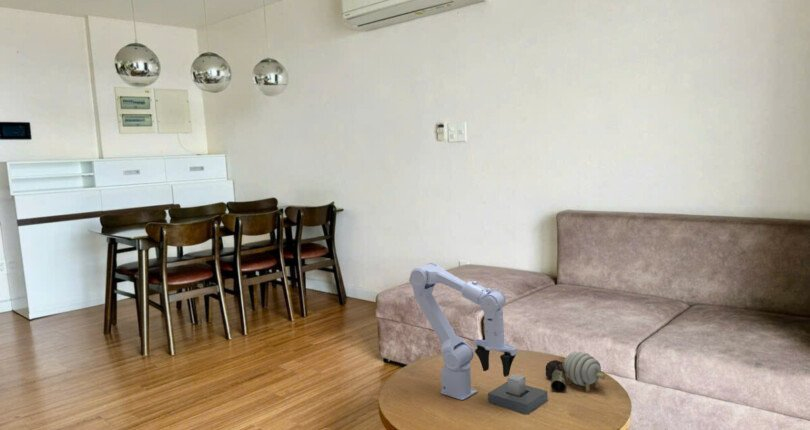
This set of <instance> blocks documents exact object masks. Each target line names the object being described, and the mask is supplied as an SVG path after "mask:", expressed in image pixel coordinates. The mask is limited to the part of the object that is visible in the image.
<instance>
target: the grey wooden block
mask: <svg viewBox="0 0 810 430" xmlns="http://www.w3.org/2000/svg"><path fill="white" fill-rule="evenodd" d="M506 379H507V381H506V382H508V394H510V395H514V396H517V397H522V396H523V395H525V394H526V385H527V381H526V376H525V375H521V374H517V373H513V374H511V375H509V376H507V377H506Z"/></svg>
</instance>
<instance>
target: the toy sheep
mask: <svg viewBox="0 0 810 430" xmlns="http://www.w3.org/2000/svg"><path fill="white" fill-rule="evenodd" d="M562 361H563V362H562V367H563V369H564V371H565V375H567V384H569V385H572V383H573V384H575V385H576V386H582V387H585V392H590V389H591V387H590V385H592V384H593V387H594V388H595V389H598V388H599V379H602V380H604V379H605V378H606V375H605V374H603V373H602V366H601V363H600V361H599V360H598V359H596V358H595V357H594V356H592V355H590V354H589V353H587V352H581V351H579V352H575V351H574V352H571V353H568V355H567V356H566V357H565V358H564V359H563V360H562Z"/></svg>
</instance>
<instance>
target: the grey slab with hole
mask: <svg viewBox="0 0 810 430" xmlns="http://www.w3.org/2000/svg"><path fill="white" fill-rule="evenodd" d="M548 394H549V393H548V390H546V389H545V390H544V389H542V388H538V387H535V386H530V385H527V384H526V394H525V395H523V396H522V397H517V396H514V395H510V394H508V381H506V382H504V383H502V384H501V385H499V386H498V387H496V388H494V389H492V390H491V391H489V392H488V393H487V402H488V403H489V404H492V405H496V406H499V407H502V408H506V409H508V410H511V411H515V412H518V413H520V414H525V415H529V414H531V413H532V412H533V411H535V410H536V409H538V408H539V407H540V406H541V405H543V404H545V403H546V402H548V400H549V397H548Z"/></svg>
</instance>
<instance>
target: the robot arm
mask: <svg viewBox="0 0 810 430" xmlns="http://www.w3.org/2000/svg"><path fill="white" fill-rule="evenodd" d="M408 281H409V283H410V284H411V287H412V291H413V295H414V298H415V300H416V302H417V304H418V305H419V307H420V309H421V310H422V312H423V314H424V317H426V319H427V321H428V322H429V324H430V326H431V328H432V329H433V331H434V333H435V334H436V336H437V338H438V340H439V341H440V343H441V347H440V354H441V355H442V358H443V363H444V366H443V367H442V369H441V372H440V378H441V379H440V380H441V382H440V383H441V391H440V394H442V395H445V396H447V397H452V398H455V399H457V400H460V401H464V400H466V399H467V398H469V397H471V396H473V395H475V394H477V393H478V390H477V389H472V376H471V361H472V360H473V359H474V353H475V354H476V355H477V357H478V360H479V361H480V364H481V368H482V371H483V372H486V371H488V370H490V369H489V368H490V351H495V352H500V353H503V354H501V355H500V356H499V358H500V360H501V365H502V375H503V377H506V378H507V377H509V376H510V371H511V367H512V365H513V362H514V359H515V358H516V356H517V354H518V352H517V351H518V349H517V347H514V346H511V345H509V344H507V343H506V342H505V334H504V333H505V332H504V308H503V307H505V304H506V296H505V295H504V293H503V292H502V291H500V290H498V289H494V290H491V288H489V287H485V286H483V285H481V284H478V281H477V280H473V281H472V280H469V281H467V282H466V281H464V280H463V279H461V278H459V277H457V276H456V275H454V274H452V273H451V272H448V271H447V270H446V269H444V268H443V267H442V266H440V265H437V264H436V263H433V262H429V263H427V264H425V265H422V266H419V267H415V268H413V269H412V270H411V272H410V276H409V279H408ZM436 284H442V285H444V286H447V287H449V288H452V289H454V290H456V291H458V292H461V295H462V297H463V298H465V299H466V300H469V301H470V302H472V303H474V304H476V305H477V306H480V308H481V310H482V311H483V317H484V335H485V336H484V338H485V339H475V340H474V342H473V346H474V348H475V347H476V348H475V350H473V348H472V346H471V345H470V344H468V343H467V342H466V341H465V339H464V338H463V337H460V336H458V335H457V334H456V332H455V331H454V329H453V327H452V326H451V323H449V321H448V319H447V317H446V316H445V313H443V311H442V309H441V307H440V305H439V303H438V302H437V301H436V299H435V297H434V295H433V292H434V287H435V286H436Z"/></svg>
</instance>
